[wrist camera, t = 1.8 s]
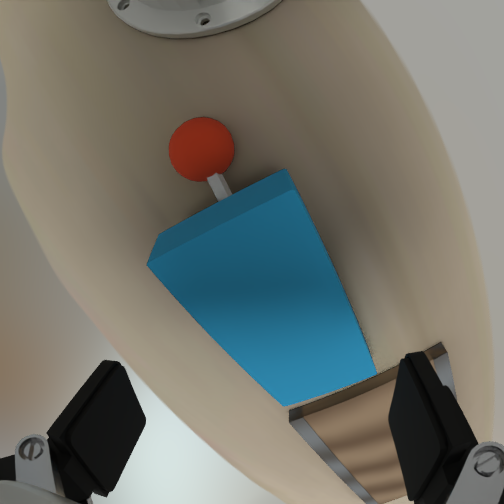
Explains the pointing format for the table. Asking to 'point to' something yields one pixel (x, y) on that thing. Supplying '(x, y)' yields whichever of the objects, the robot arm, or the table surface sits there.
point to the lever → (259, 276)
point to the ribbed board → (363, 432)
